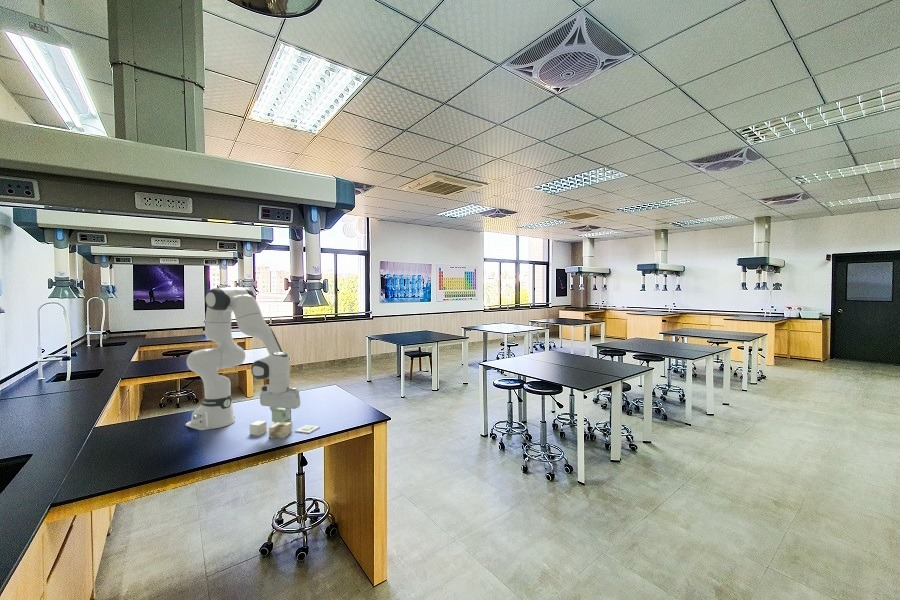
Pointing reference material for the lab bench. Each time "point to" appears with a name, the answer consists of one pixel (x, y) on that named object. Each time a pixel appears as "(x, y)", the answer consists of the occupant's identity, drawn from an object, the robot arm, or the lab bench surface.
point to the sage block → (279, 415)
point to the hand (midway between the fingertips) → (280, 416)
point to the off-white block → (258, 427)
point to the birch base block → (280, 429)
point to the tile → (307, 429)
